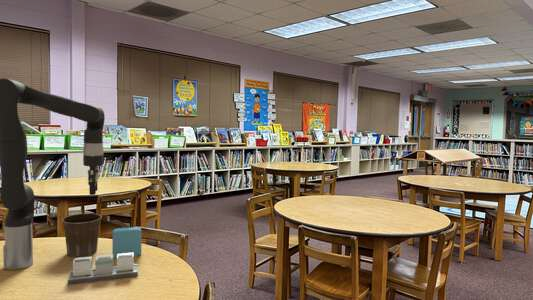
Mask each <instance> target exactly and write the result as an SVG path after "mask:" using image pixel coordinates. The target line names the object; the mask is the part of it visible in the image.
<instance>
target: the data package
mask: <svg viewBox="0 0 533 300" xmlns="http://www.w3.org/2000/svg"><path fill="white" fill-rule="evenodd" d="M111 236H112V237H111V238H112V246H111V247H112V252H111V253H112V254H113V258H115V259H117V254H122V253H132V252H134V257H137V256H140V255H141V254H142V229H141V227H140V226H134V227H133V226H132V227H119V228H115V229H113V231H112V235H111Z"/></svg>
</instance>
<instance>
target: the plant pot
mask: <svg viewBox="0 0 533 300" xmlns="http://www.w3.org/2000/svg"><path fill="white" fill-rule="evenodd" d="M102 217H103V216H102V215H101V214H97V213H77V214H70V215H68V216H65V217H63V218H62V219H61V222H62V227H63V231H64V238H65V246H66V252H67V253H66V254H67V256H70V257H72V258H81V257H89V255H93V254H95V253H97V252H98V245H99V244H98V242H99V234H100V233H99V232H100V226H101V220H102Z"/></svg>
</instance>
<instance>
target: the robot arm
mask: <svg viewBox="0 0 533 300" xmlns="http://www.w3.org/2000/svg"><path fill="white" fill-rule="evenodd" d="M18 104H21V105H22V104H24V105H30V106H35V107H39V108H42V109H45V110H47V111H49V112H52V113H55V114H58V115H62V116H65V117H70V118H75V119H77V120H79V121H83V122H86V128H85V130H84V131H83V146H82V149H83V150H82V154H83V156H82V157H83V158H82V164H83V166H84V167H89V169H88V170H87V181H88V183H87V185H88V186H89V189H88V190H89V196H95V195H96V194H97V193H96V192H97V191H98V183H99V177H100V176H99V174H100V169H99V167H102V166H103V165H104V143H103V142H104V139H103V137H104V135H103V131H104V126H105V111H104V110H103V108H101V107H100V106H98V105H93V104H87V103H84V102H79V101H77V100H74V99H72V98H68V97H64V96H61V95H58V94H57V95H56V94H51V93H48V92H44V91H40V90H39V89H38V90H37V89H35V88H33V87H31V86H29V85H26V84H24V83H22V82H20V81H17V80H14V79H11V78H0V174H1V179H0V181H1V182H0V201H1V202H0V203H1V205H2V206H3V207H4V208H5V209H7V215H6V217H5V219H4V245H3V248H2V249H3V253H2V254H3V255H2V257H3V258H2V259H3V270H10V271H13V270H15V271H16V270H22V269H26V268H29V267H31V266H32V265H33V264H34V251H33V250H34V249H33V248H34V244H33V240H34V239H33V238H34V237H33V218H34V214H35V194H34V190H33V188H32V187H31V186H29V184H28V185H27V184H25V181H24V169H25V166H26V162H27V158H28V139H27V138H28V137H27V133H26V130H25V128H24V127H23V125H22V122H21V120H20V117H19V113H18Z"/></svg>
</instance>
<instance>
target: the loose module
mask: <svg viewBox="0 0 533 300" xmlns="http://www.w3.org/2000/svg"><path fill="white" fill-rule="evenodd" d="M94 263H95V265H94V266H95V268H94V269H95V276H96V275H105V274H113V267H114V257H113V253H112V254H102V255H96V256H95V261H94Z"/></svg>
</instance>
